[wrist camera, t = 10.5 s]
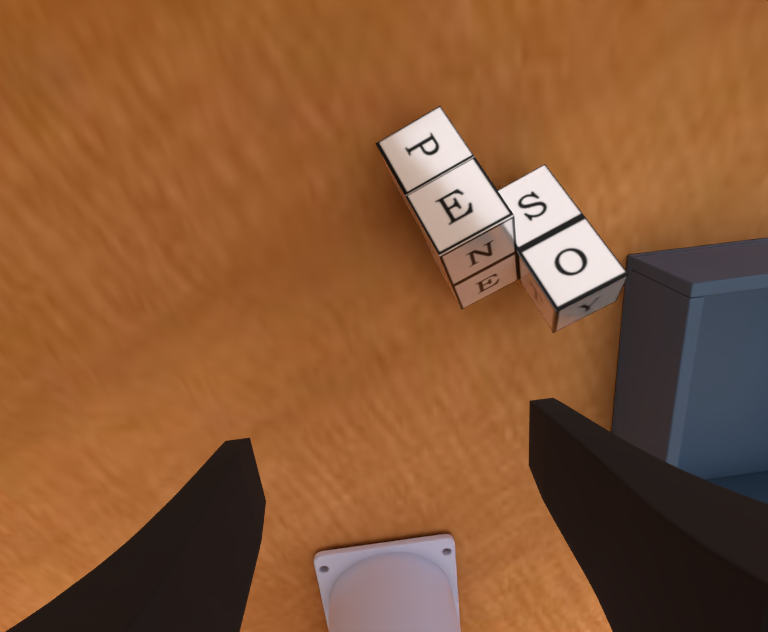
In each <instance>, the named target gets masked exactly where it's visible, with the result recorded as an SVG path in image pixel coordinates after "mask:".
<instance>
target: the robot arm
mask: <svg viewBox="0 0 768 632" xmlns="http://www.w3.org/2000/svg"><path fill="white" fill-rule="evenodd" d="M529 467H530V469H531V472H532V474H533V477H534V479H535V482H536V484H537V487H538V489H539V492H540V494H541V496H542V499H543V501H544V503H545V505H546V506H547V508H548V510H549V512H550V514H551V515H552V517H553V519H554V521H555V523H556V524H557V526H558V528H559V530H560V531H561V533H562V535H563V537H564V538H565V540H566V542H567V544H568V545H569V547H570V549H571V551H572V552H573V554H574V556H575V558H576V560H577V561H578V563H579V565H580V567H581V568H582V570H583V572H584V574H585V575H586V577H587V579H588V581H589V582H590V584H591V586H592V588H593V590H594V592H595V594H596V596H597V598H598V600H599V602H600V604H601V606H602V609H603V611H604V613H605V615H606V618H607V620H608V622H609V624H610V626H611V629H612V631H613V632H768V504H767V503H764V502H761V501H759V500H756V499H753V498H750V497H748V496H745V495H742V494H740V493H737V492H734V491H731V490H729V489H726V488H724V487H721V486H719V485H716V484H714V483H711V482H709V481H706V480H704V479H702V478H700V477H697V476H695V475H693V474H691V473H688V472H686V471H684V470H682V469H679V468H677V467H675V466H673V465H671V464H669V463H667V462H665V461H663V460H661V459H659V458H657V457H655V456H653V455H651V454H649V453H647V452H645V451H643V450H641V449H640V448H638V447H636V446H634V445H632V444H630V443H629V442H627V441H625V440H623V439H622V438H620V437H618V436H616V435H615V434H613V433H611V432H609V431H608V430H606V429H604V428H603V427H601V426H599V425H598V424H596V423H594V422H593V421H591V420H590V419H588V418H586V417H585V416H583V415H581V414H580V413H578V412H577V411H575V410H573V409H572V408H570V407H568V406H567V405H565V404H563V403H562V402H560V401H558V400H556V399H554V398H548V399H540V400H533V401H530V421H529ZM265 504H266V500H265V496H264V492H263V488H262V484H261V480H260V476H259V472H258V468H257V464H256V460H255V456H254V452H253V449H252V445H251V441H250V438H245V439H237V440H229V441H225V442H224V443H223V444H222V445H221V446H220V447H219V448H218V450H217V451H216V452H215V453H214V454H213V455H212V456H211V457H210V458H209V459H208V461H207V462H206V463H205V464H204V465H203V466H202V467H201V468H200V469H199V471H198V472H197V473H196V474H195V475H194V476H193V477H192V478H191V479H190V480H189V481H188V482H187V483H186V485H185V486H184V487H183V488H182V489H181V490H180V491H179V492H178V493H177V494H176V495H175V496H174V497H173V498H172V499H171V500H170V501H169V502H168V503H167V504H166V505H165V506H164V507H163V508H162V509H161V510H160V511H159V512H158V513H157V514H156V515H155V516H154V517H153V518H152V519H151V520H150V521H149V522H148V523H147V524H146V525H145V526H144V527H143V528H142V529H141V530H140V531H138V532H137V533H136V534H135V535H134V536H133V537H132V538H131V539H130V540H128V541H127V542H126V543H125V544H124V545H123V546H122V547H120V548H119V549H118V550H117V551H116V552H114V553H113V554H112V555H111V556H110V557H108V558H107V559H106V560H105V561H104V562H102V563H101V564H100V565H99V566H97V567H96V568H95V569H94V570H92V571H91V572H90V573H88V574H87V575H86V576H84V577H83V578H82V579H80V580H79V581H78V582H76V583H75V584H73V585H72V586H71V587H69V588H68V589H67V590H65V591H64V592H63V593H61V594H60V595H59V596H57V597H56V598H55V599H53V600H52V601H51V602H49V603H48V604H46V605H45V606H43V607H42V608H40V609H39V610H38V611H36V612H35V613H33V614H32V615H30V616H29V617H27V618H26V619H24V620H23V621H21V622H20V623H18V624H17V625H15V626H14V627H12V628H10V629H9V630H7V631H6V632H240V628H241V623H242V619H243V615H244V611H245V607H246V603H247V599H248V595H249V591H250V586H251V582H252V578H253V574H254V570H255V566H256V562H257V557H258V553H259V549H260V544H261V540H262V532H263V524H264V514H265ZM446 548H447V549H446ZM444 549H446V550H444ZM314 566H315V571H316V575H317V580H318V585H319V589H320V594H321V598H322V603H323V607H324V612H325V617H326V621H327V626H328V632H461V629H460V616H459V601H458V585H457V569H456V554H455V542H454V539H453V536H451V535H450V534H440V535H433V536H426V537H419V538H411V539H404V540H397V541H390V542H383V543H376V544H369V545H362V546H354V547H347V548H340V549H333V550H326V551H320V552H318V553H316V554H315V556H314ZM322 566H326V567H322Z"/></svg>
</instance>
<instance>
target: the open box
mask: <svg viewBox="0 0 768 632" xmlns="http://www.w3.org/2000/svg"><path fill="white" fill-rule="evenodd" d="M626 272H627V273H628V274H629V275H628V277H627V279H626V281H625V291H624V302H623V313H622V324H621V335H620V346H619V357H618V367H617V378H616V389H615V400H614V411H613V422H612V433H613V434H615V435H616V436H618V437H620V438H622V439H623V440H625V441H627V442H629V443H630V444H632V445H634V446H636V447H638V448H640V449H641V450H643V451H645V452H647V453H649V454H651V455H653V456H655V457H657V458H659V459H661V460H663V461H665V462H667V463H669V464H671V465H673V466H675V467H677V468H679V469H682V470H684V471H686V472H688V473H691V474H693V475H695V476H697V477H700V478H702V479H704V480H706V481H709V482H711V483H714V484H716V485H719V486H721V487H724V488H726V489H729V490H731V491H734V492H737V493H740V494H742V495H745V496H748V497H750V498H753V499H756V500H759V501H761V502H764V503H767V504H768V238H761V239H753V240H745V241H737V242H728V243H720V244H712V245H704V246H696V247H688V248H679V249H671V250H663V251H655V252H647V253H639V254H631V255H628V258H627V269H626Z"/></svg>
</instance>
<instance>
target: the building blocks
mask: <svg viewBox="0 0 768 632" xmlns="http://www.w3.org/2000/svg"><path fill="white" fill-rule="evenodd" d="M376 146H377V148H378V150H379V152H380V154H381V156H382V158H383V161H384V163H385V165H386V167H387V169H388V171H389V173H390V175H391V178H392V180H393V182H394V184H395V186H396V188H397V189H398V191H399V193H400V195H401V196H402V198H403V200H404V202H405V204H406V205H407V207H408V209H409V211H410V212H411V214H412V216H413V218H414V220H415V221H416V223H417V225H418V227H419V229H420V230H421V232H422V234H423V236H424V239H425V241H426V243H427V245H428V247H429V250H430V252H431V254H432V256H433V258H434V261H435V262H436V264H437V266H438V268H439V270H440V271H441V273H442V275H443V277H444V279H445V280H446V282H447V284H448V286H449V287H450V289H451V291H452V293H453V295H454V296H455V298H456V300H457V302H458V304H459V305H460V307H461V309H464V308H465V307H467V306H469V305H471V304H473V303H475V302H477V301H479V300H481V299H482V298H484V297H486V296H488V295H490V294H492V293H494V292H496V291H498V290H500V289H501V288H503V287H505V286H507V285H509V284H511V283H513V282H515V281H517V280H518V279H519V280H520V282H521V284H522V285H523V287H524V288H525V290H526V291H527V293H528V295H529V296H530V298H531V299H532V301H533V302H534V304H535V305H536V307H537V309H538V310H539V312H540V313H541V315H542V316H543V318H544V320H545V321H546V323H547V324H548V326H549V327H550V329H551V331H552V332H553V333H554V332H556V331H558V330H560V329H562V328H564V327H566V326H568V325H570V324H572V323H574V322H576V321H578V320H580V319H582V318H584V317H586V316H587V315H589V314H591V313H593V312H595V311H597V310H599V309H601V308H603V307H605V306H607V305H609V304H611V303H613V302H615V301H616V300H617V298H618V296H619V294H620V291H621V289H622V287H623V285H624V283H625V281H626V279H627V277H628V275H629V274H628V273H627V272H626V270H625V269H624V268H623V266H622V265H621V264H620V262H619V261H618V260H617V258H616V257H615V256H614V254H613V253H612V252H611V251H610V249H609V248H608V247H607V245H606V244H605V243H604V241H603V240H602V239H601V237H600V236H599V235H598V233H597V232H596V231H595V229H594V228H593V227H592V225H591V224H590V223H589V222H588V220H587V219H586V218H585V216H584V215H583V214H582V212H581V211H580V210H579V208H578V207H577V206H576V204H575V203H574V202H573V200H572V199H571V198H570V196H569V195H568V194H567V193H566V191H565V190H564V189H563V187H562V186H561V185H560V183H559V182H558V181H557V179H556V178H555V177H554V175H553V174H552V173H551V171H550V170H549V169H548V167H547V166H546V165H545V164H544V165H542V166H541V167H539V168H537V169H535V170H533V171H532V172H530V173H528V174H526V175H524V176H523V177H521V178H519V179H517V180H515V181H514V182H512V183H510V184H508V185H506V186H505V187H503V188H501V189H499V190H497V189H496V187H495V186H494V185H493V183H492V182H491V180H490V179H489V177H488V176H487V174H486V173H485V171H484V170H483V168H482V167H481V165H480V164H479V162H478V161H477V159H476V158H475V157H474V155H473V154H472V152H471V151H470V149H469V148H468V146H467V145H466V143H465V142H464V140H463V139H462V137H461V136H460V134H459V133H458V131H457V130H456V129H455V127H454V126H453V124H452V123H451V121H450V120H449V118H448V117H447V115H446V114H445V112H444V111H443V109H442V108H441V106H439V107H437V108H435V109H434V110H432V111H430V112H429V113H427V114H425V115H423V116H422V117H420V118H418V119H417V120H415V121H413V122H412V123H410V124H408V125H406V126H405V127H403V128H401V129H400V130H398V131H396V132H395V133H393V134H391V135H389V136H388V137H386V138H384V139H383V140H381V141H379V142H377V143H376Z"/></svg>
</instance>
